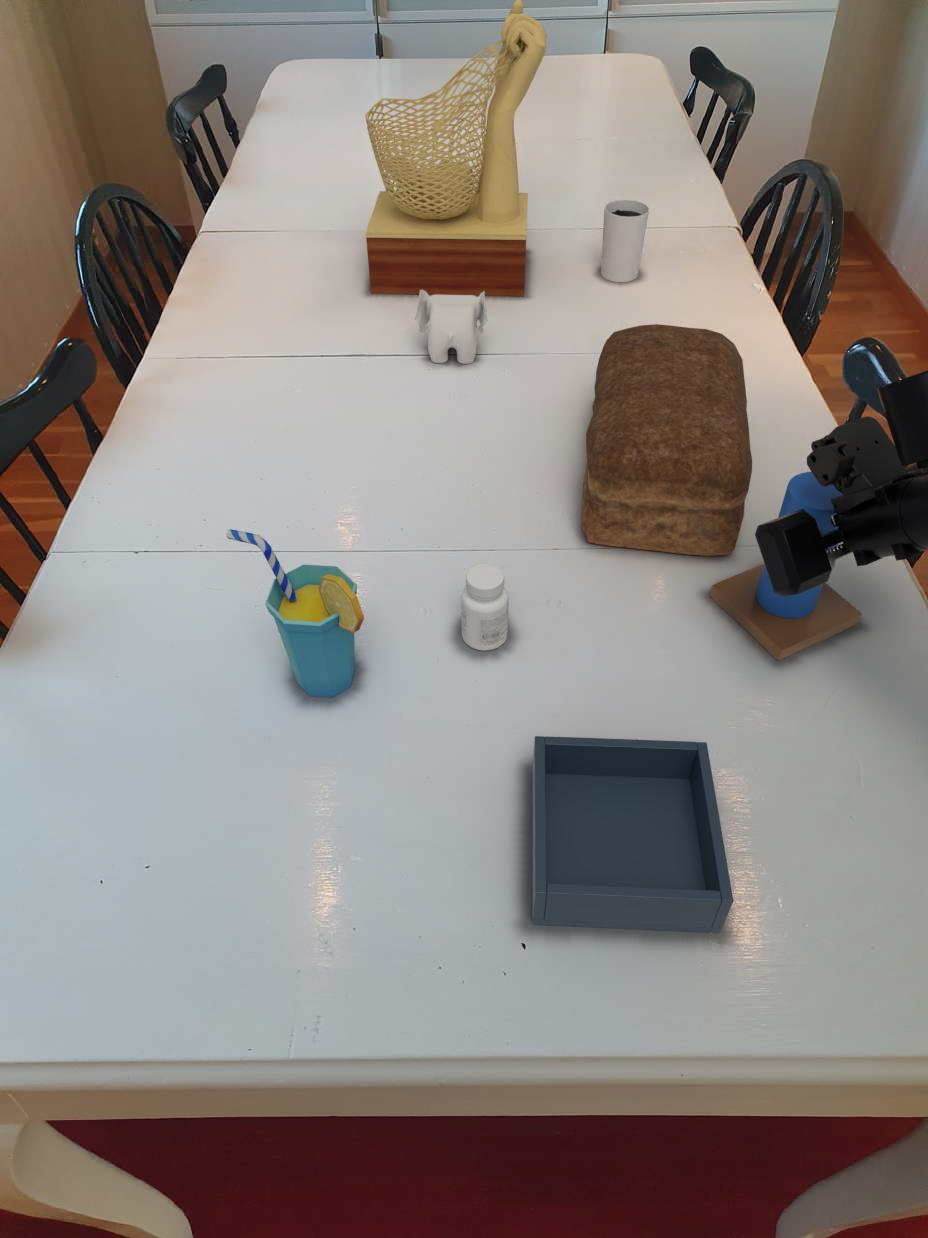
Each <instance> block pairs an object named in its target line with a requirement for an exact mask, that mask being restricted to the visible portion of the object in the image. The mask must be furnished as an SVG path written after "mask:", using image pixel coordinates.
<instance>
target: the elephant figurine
mask: <svg viewBox="0 0 928 1238" xmlns="http://www.w3.org/2000/svg"><path fill="white" fill-rule="evenodd" d="M487 311H488V310H487V304H486V296H485V291H483V292H482V293H481V294H480V295H479V296H478V295H439V294H435V295H428V293H427V292H426V291H424V290H420V294H418V301H417V306H416V312H415V315H414V321H415V322H416V324H417V325H418V326H419V332H420V333H426V332H427V330H428V339H427V350H428V355H429V357H430V360H431V362H433V363H434V364H444V363H446V362H448V360H449V349H450V348H452V349H454V350H456V360H457V362H458V363H460V364H462V365H466V364H467V365H468V364H471V363H473V362H474V361H475V359H476V355H477V344H478V340H479V333H480V334H481V335H482V334H484V331H485V330H484V327H485V326H486V325H487V324H488V320H489V318H488V313H487ZM478 323H479V326H478Z"/></svg>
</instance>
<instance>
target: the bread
mask: <svg viewBox="0 0 928 1238" xmlns="http://www.w3.org/2000/svg"><path fill="white" fill-rule="evenodd" d="M743 361H744V360H743V358H742V355H741V354H740V352H739V351H738V348H737V346H736V344H735V343H734V342H733V341H731V340H730V338H728V337H727V336H725V335H724V334H723V333H721V332H717V331H714V330H710V329H707V328H696V327H687V326H679V325H670V324H659V323H656V324H654V323H653V324H643V325H636V326H632V327H627V328H624V329H623V328H622V329H620V330H617V331H616V330H615V331H613V332H612V333H611V335H609V337H608V338H607V339H606V340H605V342H604V344H603V347H602V349H601V351H600V356H599V358H598V362H597V365H596V371H595V380H594V381H595V382H594V386H593V387H594V388H593V389H594V390H593V391H594V399H593V403H592V405H591V408H592V416H591V418H590V421H589V424H588V426H587V430H586V434H585V443H586V467H585V474H584V478H583V479H584V480H583V483H582V484H583V485H582V497H581V498H582V499H581V519H580V520H581V521H580V527H581V530H582V531H583V532H584V534H585V536H586V539H587V543H590V544H596V545H600V546H601V545H602V546H609V547H618V548H628V549H636V550H637V549H638V550H646V551H655V552H663V553H671V554H678V555H689V556H704V557H705V556H706V557H709V556H713V557H714V556H724V555H726V556H727V555H730V554H731V553H733V551H735V549H736V546H737V542H738V538H739V536H740V535H739V534H740V530H741V528H742V524H743V521H744V520H743V519H744V516H745V504H746V503H745V501H746V498H747V495H748V494H749V491H750V490H749V489H750V484H751V479H752V472H753V456H752V450H751V441H750V440H751V437H750V427H749V418H748V410H747V409H748V407H747V405H748V399H747V390H746V389H747V388H746V381H745V371H744V362H743Z"/></svg>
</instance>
